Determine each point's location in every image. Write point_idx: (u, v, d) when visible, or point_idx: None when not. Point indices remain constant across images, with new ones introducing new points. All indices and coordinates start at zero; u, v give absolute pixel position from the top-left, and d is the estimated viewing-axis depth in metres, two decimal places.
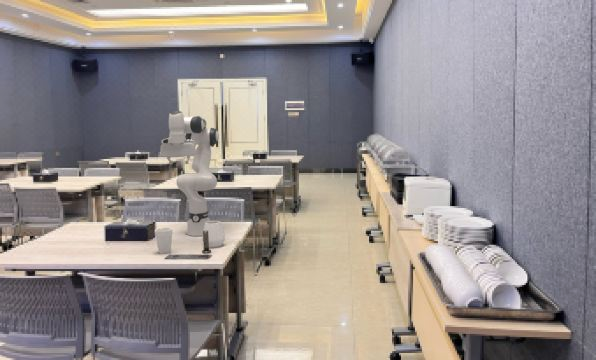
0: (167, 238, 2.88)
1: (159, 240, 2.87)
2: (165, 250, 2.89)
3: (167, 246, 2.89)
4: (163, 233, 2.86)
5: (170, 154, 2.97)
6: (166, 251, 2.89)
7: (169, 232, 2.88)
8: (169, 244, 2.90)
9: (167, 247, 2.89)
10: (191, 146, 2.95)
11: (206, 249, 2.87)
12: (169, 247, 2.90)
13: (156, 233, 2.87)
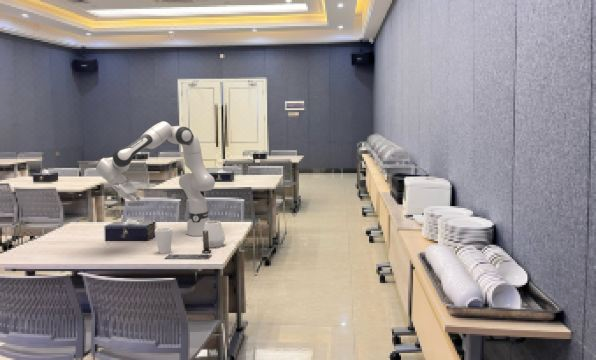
0: (167, 238, 2.88)
1: (159, 240, 2.87)
2: (165, 250, 2.89)
3: (167, 246, 2.89)
4: (163, 233, 2.86)
5: None
6: (166, 251, 2.89)
7: (169, 232, 2.88)
8: (169, 244, 2.90)
9: (167, 247, 2.89)
10: None
11: (206, 249, 2.87)
12: (169, 247, 2.90)
13: (156, 233, 2.87)
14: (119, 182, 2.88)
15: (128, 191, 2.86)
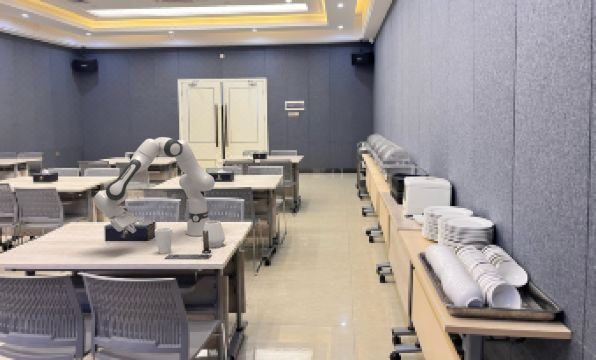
0: (167, 238, 2.88)
1: (159, 240, 2.87)
2: (165, 250, 2.89)
3: (167, 246, 2.89)
4: (163, 233, 2.86)
5: None
6: (166, 251, 2.89)
7: (169, 232, 2.88)
8: (169, 244, 2.90)
9: (167, 247, 2.89)
10: None
11: (206, 249, 2.87)
12: (169, 247, 2.90)
13: (156, 233, 2.87)
14: (115, 215, 2.88)
15: (123, 224, 2.86)
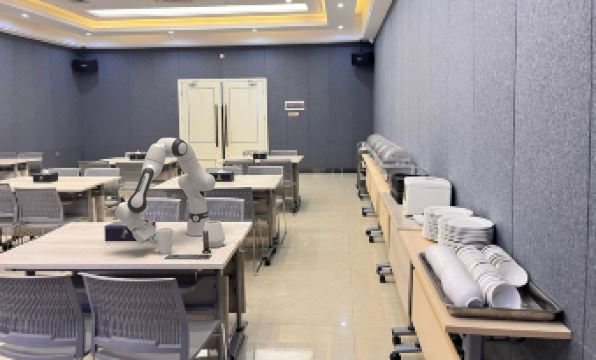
0: (168, 238, 2.88)
1: (160, 240, 2.87)
2: (166, 250, 2.89)
3: (168, 246, 2.89)
4: (164, 233, 2.86)
5: None
6: (167, 251, 2.89)
7: (170, 232, 2.88)
8: (170, 244, 2.90)
9: (168, 247, 2.89)
10: None
11: (206, 249, 2.87)
12: (170, 247, 2.90)
13: (157, 233, 2.87)
14: (137, 227, 2.88)
15: (145, 237, 2.85)
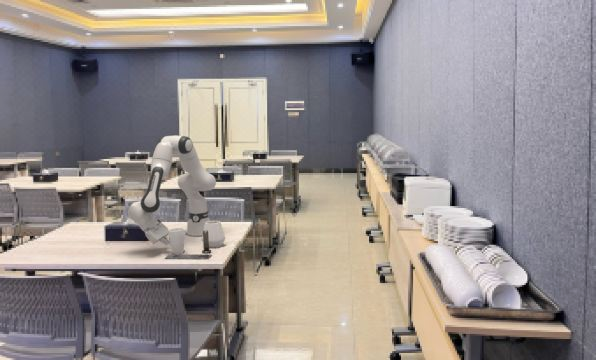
0: (180, 238, 2.86)
1: (172, 240, 2.86)
2: (178, 250, 2.87)
3: (180, 246, 2.87)
4: (176, 233, 2.85)
5: None
6: (179, 251, 2.88)
7: (182, 232, 2.86)
8: (182, 244, 2.88)
9: (180, 247, 2.87)
10: None
11: (206, 249, 2.87)
12: (182, 247, 2.89)
13: (169, 233, 2.86)
14: (150, 227, 2.87)
15: (158, 236, 2.84)
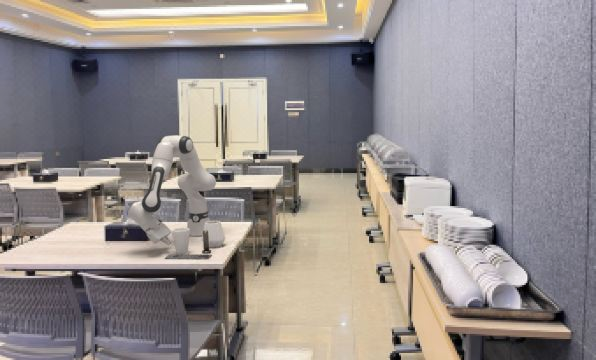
0: (184, 238, 2.86)
1: (176, 240, 2.86)
2: (182, 250, 2.87)
3: (184, 246, 2.87)
4: (180, 233, 2.84)
5: None
6: (183, 251, 2.87)
7: (186, 232, 2.86)
8: (186, 244, 2.88)
9: (184, 247, 2.87)
10: None
11: (206, 249, 2.87)
12: (186, 247, 2.88)
13: (173, 233, 2.86)
14: (151, 227, 2.86)
15: (159, 236, 2.84)
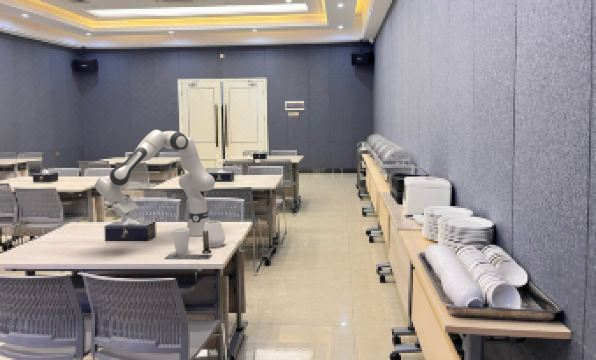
0: (184, 238, 2.86)
1: (176, 240, 2.86)
2: (182, 250, 2.87)
3: (184, 246, 2.87)
4: (180, 233, 2.84)
5: None
6: (183, 251, 2.87)
7: (186, 232, 2.86)
8: (186, 244, 2.88)
9: (184, 247, 2.87)
10: None
11: (206, 249, 2.87)
12: (186, 247, 2.88)
13: (173, 233, 2.86)
14: (118, 201, 2.87)
15: (126, 210, 2.85)
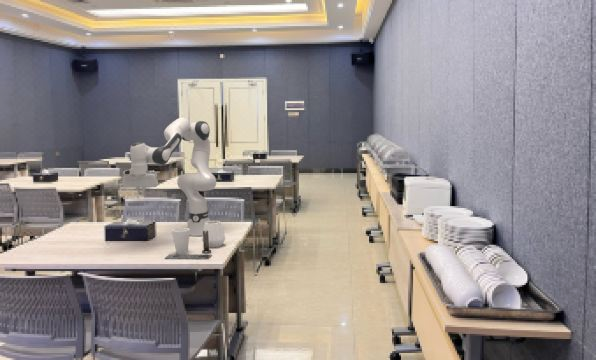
0: (184, 238, 2.86)
1: (176, 240, 2.86)
2: (182, 250, 2.87)
3: (184, 246, 2.87)
4: (180, 233, 2.84)
5: (132, 185, 2.98)
6: (183, 251, 2.87)
7: (186, 232, 2.86)
8: (186, 244, 2.88)
9: (184, 247, 2.87)
10: (153, 177, 2.96)
11: (206, 249, 2.87)
12: (186, 247, 2.88)
13: (173, 233, 2.86)
14: None
15: None
